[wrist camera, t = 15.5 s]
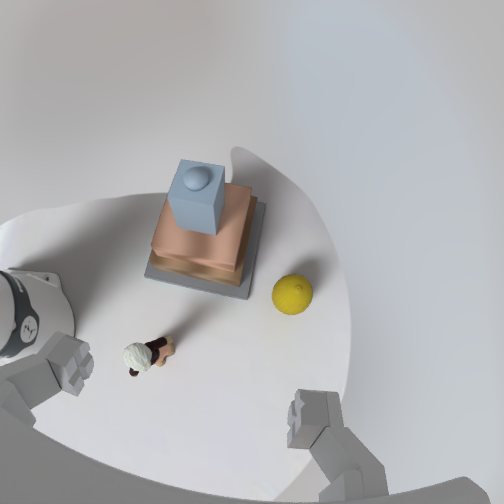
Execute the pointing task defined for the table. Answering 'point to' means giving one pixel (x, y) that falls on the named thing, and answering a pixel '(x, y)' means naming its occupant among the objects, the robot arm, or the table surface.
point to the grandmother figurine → (147, 354)
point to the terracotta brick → (207, 241)
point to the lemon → (292, 294)
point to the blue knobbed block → (198, 196)
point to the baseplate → (216, 287)
